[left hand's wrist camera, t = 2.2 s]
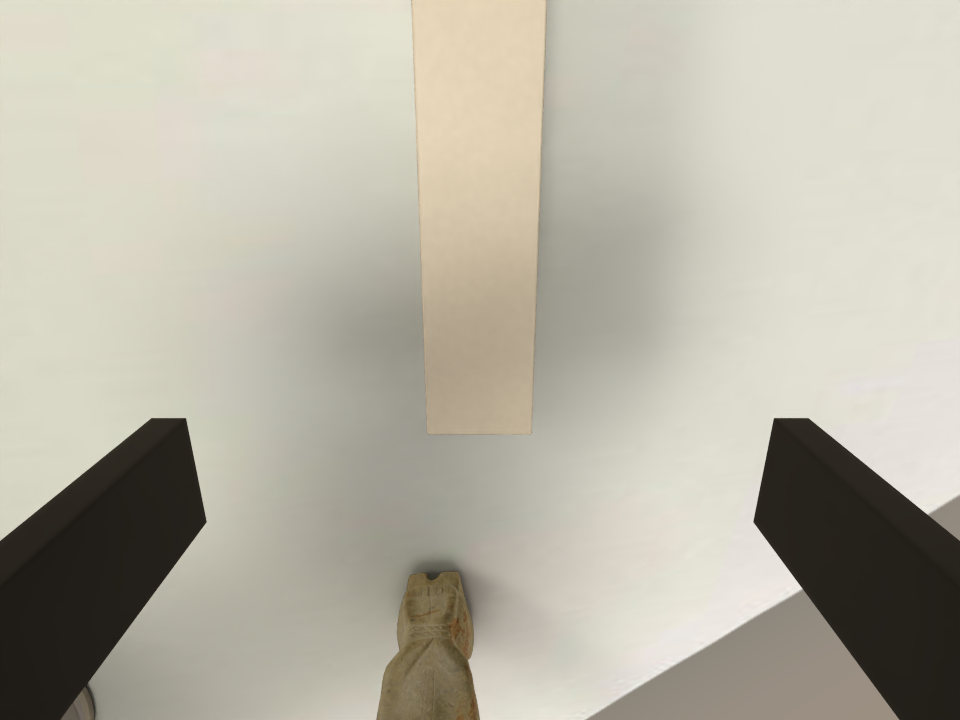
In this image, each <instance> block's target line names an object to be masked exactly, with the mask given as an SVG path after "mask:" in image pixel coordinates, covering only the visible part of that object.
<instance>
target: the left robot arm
mask: <svg viewBox="0 0 960 720" xmlns="http://www.w3.org/2000/svg"><path fill="white" fill-rule="evenodd" d="M205 523H206V517H205V512H204V507H203V502H202V497H201V491H200V486H199V481H198V476H197V471H196V466H195V461H194V456H193V451H192V446H191V441H190V436H189V431H188V426H187V421H186V418H151V419H150V420H149V421H148V422H146V423H145V424H144V425H143V426H142V427H140V428H139V429H138V430H137V431H135V432H134V433H133V434H132V435H130V436H129V437H128V438H127V439H125V440H124V441H123V442H122V443H121V444H119V445H118V446H117V447H116V448H114V449H113V450H112V451H111V452H109V453H108V454H107V455H106V456H105V457H103V458H102V459H101V460H100V461H98V462H97V463H96V464H95V465H93V466H92V467H91V468H90V469H88V470H87V471H86V472H85V473H84V474H82V475H81V476H80V477H79V478H77V479H76V480H75V481H74V482H72V483H71V484H70V485H69V486H68V487H66V488H65V489H64V490H63V491H61V492H60V493H59V494H58V495H56V496H55V497H54V498H53V499H51V500H50V501H49V502H48V503H47V504H45V505H44V506H43V507H42V508H40V509H39V510H38V511H37V512H35V513H34V514H33V515H32V516H30V517H29V518H28V519H27V520H26V521H24V522H23V523H22V524H21V525H19V526H18V527H17V528H16V529H14V530H13V531H12V532H11V533H10V534H8V535H7V536H6V537H5V538H3V539H2V540H1V541H0V720H94V710H93V704H92V700H91V697H90V694H89V692H88V690H87V688H86V684H87V683H88V682H89V680H90V679H91V678H92V676H93V675H94V674H95V672H96V671H97V670H98V668H99V667H100V666H101V664H102V663H103V661H104V660H105V659H106V657H107V656H108V655H109V653H110V652H111V651H112V649H113V648H114V647H115V645H116V644H117V643H118V641H119V640H120V638H121V637H122V636H123V634H124V633H125V632H126V630H127V629H128V628H129V626H130V625H131V624H132V622H133V621H134V620H135V618H136V617H137V615H138V614H139V613H140V611H141V610H142V609H143V607H144V606H145V605H146V603H147V602H148V601H149V599H150V598H151V597H152V595H153V594H154V592H155V591H156V590H157V588H158V587H159V586H160V584H161V583H162V582H163V580H164V579H165V578H166V576H167V575H168V574H169V572H170V571H171V569H172V568H173V567H174V565H175V564H176V563H177V561H178V560H179V559H180V557H181V556H182V555H183V553H184V552H185V551H186V549H187V548H188V546H189V545H190V544H191V542H192V541H193V540H194V538H195V537H196V536H197V534H198V533H199V532H200V530H201V529H202V528H203V526H204V525H205ZM754 523H755V525H756V526H757V528H758V529H759V530H760V532H761V533H762V534H763V536H764V537H765V538H766V540H767V541H768V542H769V544H770V545H771V546H772V548H773V549H774V551H775V552H776V553H777V555H778V556H779V557H780V559H781V560H782V561H783V563H784V564H785V565H786V567H787V568H788V569H789V571H790V572H791V574H792V575H793V576H794V578H795V579H796V580H797V582H798V583H799V584H800V586H801V587H802V588H803V590H804V591H805V592H806V594H807V595H808V596H809V598H810V599H811V601H812V602H813V603H814V605H815V606H816V607H817V609H818V610H819V611H820V613H821V614H822V615H823V617H824V618H825V620H826V621H827V622H828V624H829V625H830V626H831V628H832V629H833V630H834V632H835V633H836V634H837V636H838V637H839V638H840V640H841V641H842V643H843V644H844V645H845V647H846V648H847V649H848V651H849V652H850V653H851V655H852V656H853V657H854V659H855V660H856V661H857V663H858V664H859V665H860V667H861V668H862V670H863V671H864V672H865V674H866V675H867V676H868V678H869V679H870V680H871V682H872V683H873V684H874V686H875V687H876V688H877V690H878V691H879V693H880V694H881V695H882V697H883V698H884V699H885V701H886V702H887V703H888V705H889V706H890V707H891V709H892V710H893V712H894V713H895V714H896V716H897V717H898V718H899V720H960V541H959V540H958V539H957V538H955V537H954V536H953V535H952V534H950V533H949V532H948V531H947V530H946V529H944V528H943V527H942V526H941V525H939V524H938V523H937V522H936V521H934V520H933V519H932V518H931V517H930V516H928V515H927V514H926V513H925V512H923V511H922V510H921V509H920V508H918V507H917V506H916V505H915V504H913V503H912V502H911V501H910V500H909V499H907V498H906V497H905V496H904V495H902V494H901V493H900V492H899V491H897V490H896V489H895V488H894V487H892V486H891V485H890V484H889V483H888V482H886V481H885V480H884V479H883V478H881V477H880V476H879V475H878V474H876V473H875V472H874V471H873V470H872V469H870V468H869V467H868V466H867V465H865V464H864V463H863V462H862V461H860V460H859V459H858V458H857V457H855V456H854V455H853V454H852V453H851V452H849V451H848V450H847V449H846V448H844V447H843V446H842V445H841V444H839V443H838V442H837V441H836V440H835V439H833V438H832V437H831V436H830V435H828V434H827V433H826V432H825V431H823V430H822V429H821V428H820V427H818V426H817V425H816V424H815V423H814V422H812V421H811V420H810V419H809V418H774V421H773V426H772V431H771V436H770V441H769V446H768V451H767V456H766V461H765V466H764V471H763V476H762V481H761V486H760V491H759V497H758V502H757V507H756V512H755V517H754Z"/></svg>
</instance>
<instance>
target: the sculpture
mask: <svg viewBox="0 0 960 720" xmlns="http://www.w3.org/2000/svg"><path fill="white" fill-rule="evenodd" d="M397 637H398V645H399V650H400V651H399V652H398V654H397V655H396V656H395V657H394V658H393V659H392V660H391V661H390V663H389V664H388V665H387V667H386V669H385V673H384V676H383V681H382V689H381V697H380V702H379V708H378V713H377V720H480V717H479V711H478V705H477V699H476V695H475V691H474V685H473V678H472V673H471V670H470V667H469V663H468V660H469V659H470V657H471V655H472V651H473V642H474V631H473V624H472V620H471V616H470V613H469V609H468V606H467V603H466V600H465V597H464V592H463V588H462V584H461V579H460V575H459V574H458V572H456V571H454V572H446V571H444V572H441V573H440V575H439V576H438V577H437V578H436V579H434V580H430V579H429V577H428V575H427V574H426V573H418V574H413V575H410V576H409V579H408V585H407V592H406V593H405V595H404V598H403V600H402V604H401V607H400V611H399V617H398V624H397Z"/></svg>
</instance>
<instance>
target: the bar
mask: <svg viewBox="0 0 960 720" xmlns="http://www.w3.org/2000/svg"><path fill="white" fill-rule="evenodd" d="M411 1H412V28H413V56H414V84H415V111H416V139H417V167H418V194H419V222H420V250H421V277H422V305H423V333H424V360H425V388H426V416H427V433H428V434H531V433H532V412H533V383H534V355H535V327H536V298H537V270H538V242H539V213H540V185H541V157H542V129H543V100H544V72H545V44H546V15H547V0H411Z"/></svg>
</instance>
